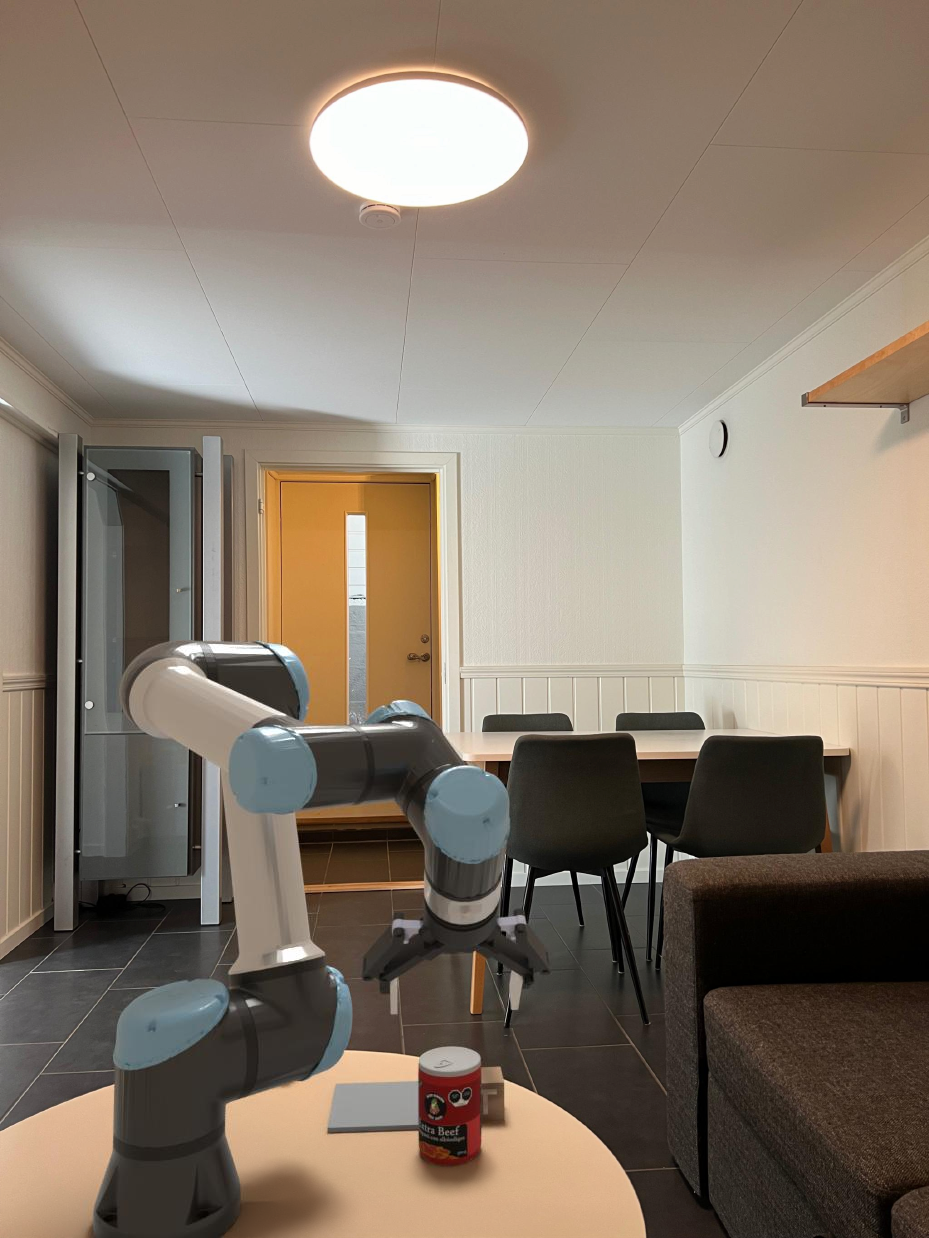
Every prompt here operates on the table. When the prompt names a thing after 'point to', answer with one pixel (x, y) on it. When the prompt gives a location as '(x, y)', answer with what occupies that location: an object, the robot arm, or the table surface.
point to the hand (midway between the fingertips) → (454, 1000)
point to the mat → (374, 1107)
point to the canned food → (449, 1105)
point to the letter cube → (492, 1094)
